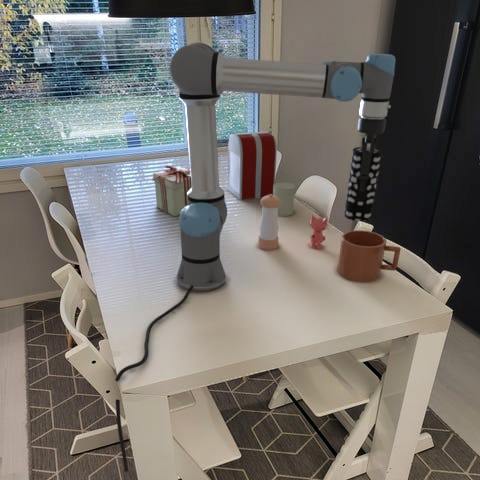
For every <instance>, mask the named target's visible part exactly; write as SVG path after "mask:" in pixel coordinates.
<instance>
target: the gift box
mask: <svg viewBox="0 0 480 480" xmlns="http://www.w3.org/2000/svg"><path fill="white" fill-rule="evenodd" d="M165 168H166V170H162V171H157V172H154V173H152V181H153V182H154V190H155V200H156V207H157V208H158V209H160V210H162V211H163V212H165V213H167V214H169V215H171V216H173V217H177V216H180V213H181V211H182V209H183V208H184V207H186V206H188V195H187V193H188V192H189V190H190V189H191V188H192V184H191V171H190V169H188V168H185V167H182V166H181V167H177V168H176V167H175V166H171V165H165Z"/></svg>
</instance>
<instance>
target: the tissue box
mask: <svg viewBox="0 0 480 480" xmlns="http://www.w3.org/2000/svg"><path fill="white" fill-rule="evenodd" d="M227 147H228V149H227V150H228V151H227V152H228V153H227V156H228V157H227V162H228V163H227V191H229V192H230V193H231V194H232V195H234V197H236V198H237V199H238V200H240V201H242V200H251V199H253V200H254V199H260V198H261V199H262V198H263V197H264V196H267V195H269V194H272V195H273V185H274V184H275V183H276V173H277V171H276V169H277V155H278V153H277V152H278V151H277V149H278V148H277V141H276V138H275V136H274V134H272V133H271V132H270V131H255V132H254V131H247V132H238V133H231V134H230V135H229V139H228V146H227Z"/></svg>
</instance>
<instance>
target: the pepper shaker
mask: <svg viewBox="0 0 480 480" xmlns="http://www.w3.org/2000/svg"><path fill="white" fill-rule="evenodd" d="M280 203H281V202H280V199H279V198H278V197H276V196H273V195H272V194H269V195H267V196H264V197H262V198H261V199H260V206H262V211H261V220H260V225H259V235H258V239H257V243H258V244H257V247H258V248H260V249H262V250H268V251H270V250H271V251H272V250H275V249H277V248H279V239H280V238H279V218H278V216H279V215H278V207H279V206H280Z"/></svg>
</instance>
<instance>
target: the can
mask: <svg viewBox="0 0 480 480" xmlns="http://www.w3.org/2000/svg"><path fill="white" fill-rule="evenodd" d="M295 191H296V185H295V184H294V183H291V182H286V181H285V182H284V181H283V182H275V184H274V185H273V196H276V197H278V198H279V199H280V202H281V203H280V206H279V207H278V216H281V217H285V216H286V217H287V216H290V215H291V216H292V215H294V202H295V193H296V192H295Z"/></svg>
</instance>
